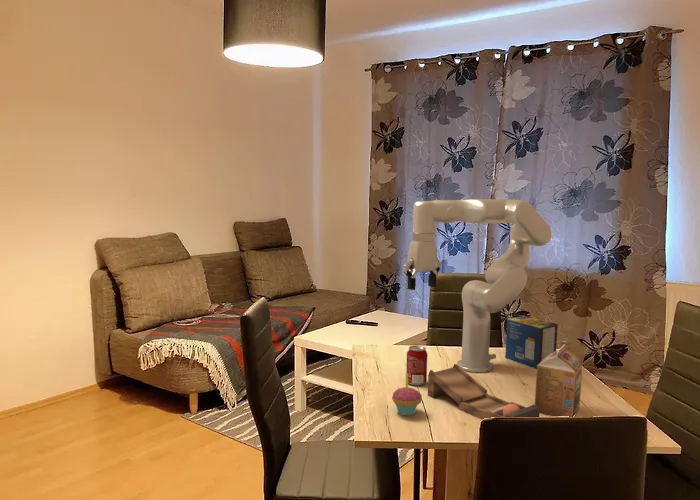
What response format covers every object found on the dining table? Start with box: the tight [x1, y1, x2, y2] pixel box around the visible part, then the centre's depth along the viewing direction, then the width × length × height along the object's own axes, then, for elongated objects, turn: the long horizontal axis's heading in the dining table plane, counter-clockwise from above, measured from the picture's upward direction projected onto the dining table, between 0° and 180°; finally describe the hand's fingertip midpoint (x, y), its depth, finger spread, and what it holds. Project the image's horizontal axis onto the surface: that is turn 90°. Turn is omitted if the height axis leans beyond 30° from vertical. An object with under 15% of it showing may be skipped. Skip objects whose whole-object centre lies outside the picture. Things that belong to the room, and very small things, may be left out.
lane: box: [427, 363, 540, 420], centre depth 167 cm, size 32×12×8 cm, turn 37°
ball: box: [502, 404, 520, 417], centre depth 158 cm, size 5×5×5 cm
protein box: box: [504, 315, 559, 370], centre depth 212 cm, size 10×15×16 cm
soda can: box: [405, 345, 428, 387], centre depth 187 cm, size 7×7×12 cm
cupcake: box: [391, 369, 423, 416], centre depth 163 cm, size 9×8×12 cm
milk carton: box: [534, 343, 584, 417], centre depth 166 cm, size 11×10×19 cm
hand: (421, 287), depth 193 cm, fingers open, 9 cm apart
